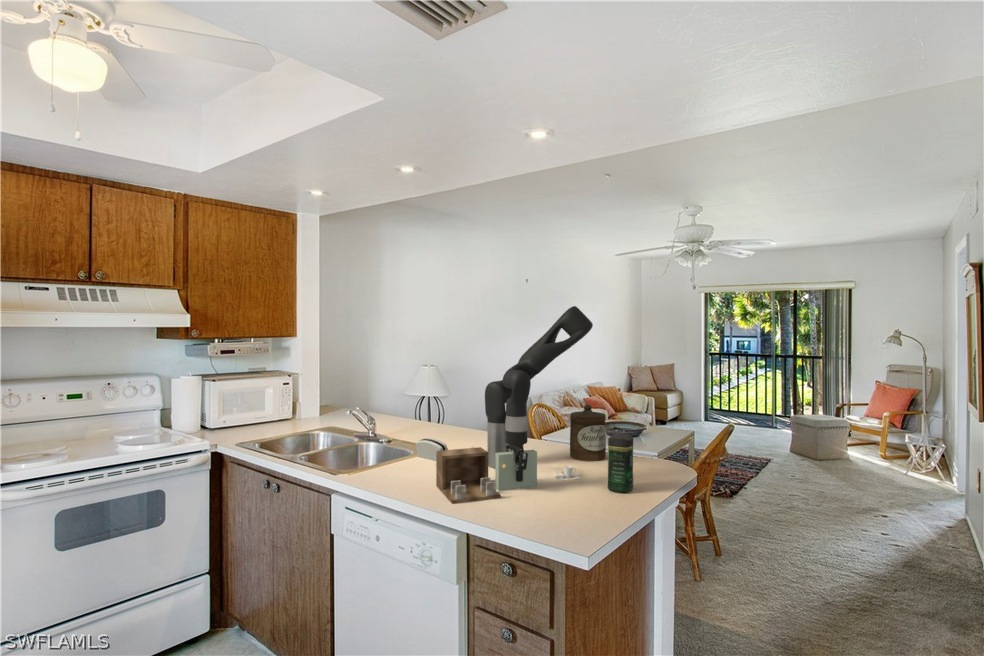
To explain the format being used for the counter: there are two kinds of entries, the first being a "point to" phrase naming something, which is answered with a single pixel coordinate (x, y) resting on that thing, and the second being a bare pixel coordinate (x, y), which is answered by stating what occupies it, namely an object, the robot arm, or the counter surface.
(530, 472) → the door
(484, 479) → the cabinet
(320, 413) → the counter surface
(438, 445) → the grey rounded block
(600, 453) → the wooden container
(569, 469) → the teacup and saucer
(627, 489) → the coffee jar
